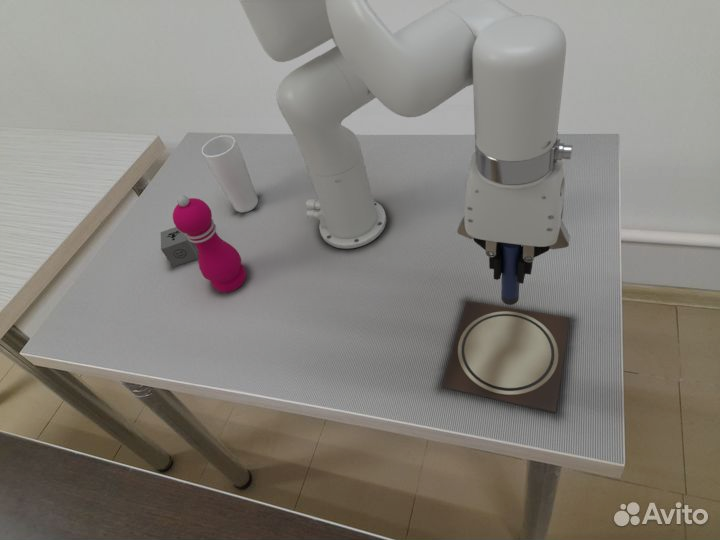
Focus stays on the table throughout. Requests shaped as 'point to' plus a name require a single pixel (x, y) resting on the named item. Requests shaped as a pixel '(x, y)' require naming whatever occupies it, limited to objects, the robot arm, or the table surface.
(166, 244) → the grey toy cube
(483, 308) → the brown square board
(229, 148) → the drinking glass
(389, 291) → the table surface
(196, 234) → the pepper mill
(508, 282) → the cylinder
